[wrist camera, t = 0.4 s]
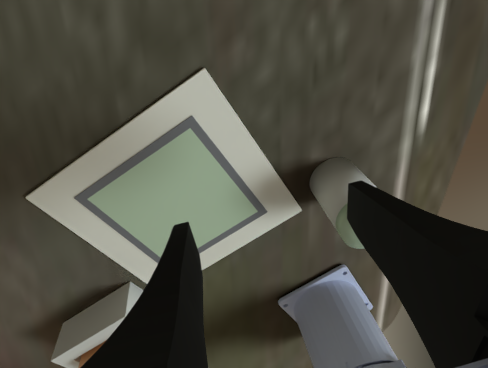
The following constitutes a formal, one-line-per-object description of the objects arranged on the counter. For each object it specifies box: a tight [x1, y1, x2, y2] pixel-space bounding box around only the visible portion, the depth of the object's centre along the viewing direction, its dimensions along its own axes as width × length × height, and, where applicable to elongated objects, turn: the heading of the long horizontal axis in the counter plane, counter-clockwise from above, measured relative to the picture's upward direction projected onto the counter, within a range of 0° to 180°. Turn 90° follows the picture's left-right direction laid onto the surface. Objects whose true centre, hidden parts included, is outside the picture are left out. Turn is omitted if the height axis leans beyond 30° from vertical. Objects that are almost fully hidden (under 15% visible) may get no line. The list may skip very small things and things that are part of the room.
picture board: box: [25, 67, 302, 284], centre depth 24 cm, size 14×15×1 cm
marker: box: [309, 157, 377, 249], centre depth 23 cm, size 4×4×6 cm
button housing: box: [51, 282, 143, 368], centre depth 29 cm, size 8×8×4 cm
